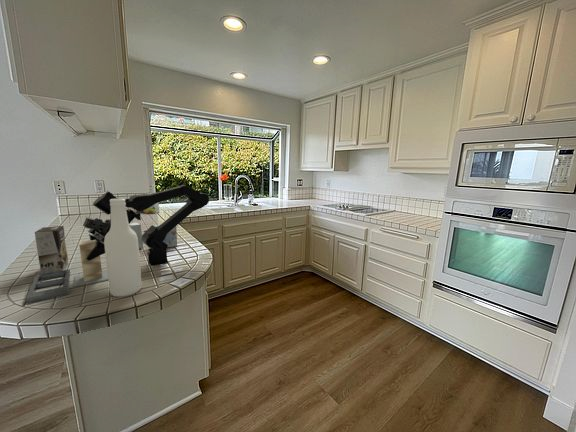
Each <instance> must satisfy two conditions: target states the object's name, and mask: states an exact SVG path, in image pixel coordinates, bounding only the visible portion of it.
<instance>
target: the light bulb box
mask: <svg viewBox="0 0 576 432" xmlns="http://www.w3.org/2000/svg"><path fill="white" fill-rule="evenodd" d="M159 225H160V224H157V225H154V226H155V227H157V226H159ZM177 227H178V226H176V227H174V228H173V229H172V230H171V231H170V232H169V233H168V234H167V236H166V238H165V239H164V241H163V242H164V243H166V244H167V245H168V247H167V248H173V247H177V246H178V234H177V233H178V232H177V231H178V230H177Z"/></svg>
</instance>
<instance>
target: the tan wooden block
mask: <svg viewBox="0 0 576 432" xmlns="http://www.w3.org/2000/svg"><path fill="white" fill-rule="evenodd" d="M78 243H79V251H80V259H81V260H80V261H81V266H82V273H83V275H84V281H89V280H94V279H98V278H103V277H102V271H103V270H102V262H101V255H100V256H98V257H96V258H94V259H92V260H90V261H89V260H87V257H88V255H89V254H90V253H91V251H92V250H93V248H94V247H95V246H96V240H90V239H89V240H83V241H78Z"/></svg>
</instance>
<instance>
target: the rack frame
mask: <svg viewBox="0 0 576 432" xmlns="http://www.w3.org/2000/svg"><path fill="white" fill-rule="evenodd" d="M63 276H65V277H63ZM57 277H58V278H57ZM59 277H61V278H59ZM62 277H63V278H62ZM54 278H57V279H54ZM47 279H52V280H48V281H41V280H47ZM70 280H71V269H70V268H69V269H64V270H63V271H57V272H51V273H46V274H41V273H40V274H36V275H35V276H34V279H33V280H32V283H31V286H30V288H29V290H28V293H27V296H26V299H25V300H26V304H30V303H34V302H38V301H43V300H47V299H52V298H57V297H61V296H67V295H69V289H70ZM40 281H41V282H40ZM61 284H63V286H60V287H55V288H54V287H53V288H50V289H46V290H40V291H37V289H42V288H47V287H52V286H56V285H57V286H58V285H61Z"/></svg>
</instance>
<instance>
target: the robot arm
mask: <svg viewBox="0 0 576 432" xmlns="http://www.w3.org/2000/svg"><path fill="white" fill-rule="evenodd" d="M182 196H184V197H186V198H187V201H186V203H185V204H184V205H183V206H182V207H181V208H179V209H178V210H177V211H176V212H174V213H173V214H172V215H171V216H169V217H168V218H167V219H166V220H164V221H163V222H162V223H161V224H158V225H159V226H157V227H155V225H151V226H149V228H147V229H146V230H144V231H143V232H144V233H142V241H143V245H144V244H145V245H146V246H147V247H148V252H147V253H146V254H147V263H148V264H149V265H150V266H151V267H155V266H159V265H165V264H168V263H169V261H168V253H167V252H168V251H167V250H168V248H169V247H168V245H167V244H166V243H164V242H163V241H164V239H165V238H166V236H167V234H168V233H169V232H170V231H171V230H172V229H173V228H174V227H178V225H179V224H180V223H181V222H183V221H184V220H185V219H186V218H188V216H190V215H191V214H192V213H193V212H194V211H197V210H199V209H202V208H204V207H205V206H207V205H208V204H209V203H210V198H209V197H210V196H209V195H208V194H207V193H204V192H200V191H197V190H195V189H193V188H191V187H190V186H188V185H184V184H180V185H178V186H175V187H172V188H167V189H164V190H160V191H157V192H152V193H142V194H133V195H131V196H129V198H124V199H125V203H126V205H125V206H126V208H128V209H126V212H127V217H128V223H129V224H131V223H132V221H134V219H136V220H137V221H141V220H142V218H141V212H137V211H143V210H145V209H147V208H150V207H151V206H153V205H154V204H156V203H158V202H159V203H161V202H165V201H168V200H171V199H175V198H177V197H182ZM111 199H119V198H117V197H116V196H115V195H114V194H113V193H112V192H110V191H109V190H108V191H107V190H106V192H105V193H103V194H102V195H101V196H98V197H97V198H96V199H95V201H94V202H93V203H92V206H93V207H95V208H97V209H99V210H100V211H101V212H102V213H104V214H106V215H111V206H110V200H111ZM134 210H135V211H136V212H135V211H134ZM82 226H83V227H84V228H85V229H89V230H87V232H88V233H89V234H88V236H89V240H96V246H95V247H94V248H93V250H92V251H91V253H90V254H89V255H88V257H87V260H89V261H90V260H92V259H94V258H96V257H98V256H100V257H101V255H104V254H105V246H104V239H105V236H106V234H107V233H108V232H109V230H110V228H111V218H110V219H108V218H107V219H106V220H104V221H103V220H102V219H101V218H92V217H86V218H85V219H84V222H83V224H82Z"/></svg>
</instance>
